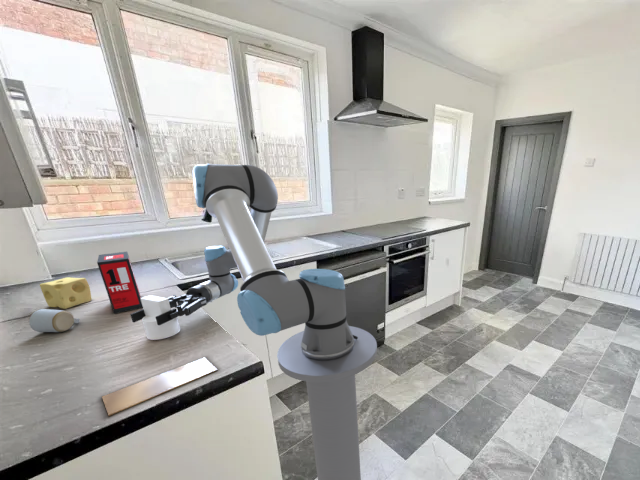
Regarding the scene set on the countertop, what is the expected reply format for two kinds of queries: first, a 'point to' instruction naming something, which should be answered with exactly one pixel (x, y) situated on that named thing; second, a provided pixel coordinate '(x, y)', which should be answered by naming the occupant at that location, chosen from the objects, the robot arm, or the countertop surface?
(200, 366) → the tan rectangular plate
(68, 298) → the cheese
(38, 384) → the countertop surface
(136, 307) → the cleaning product box
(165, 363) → the countertop surface
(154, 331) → the cylinder with rectangular tab
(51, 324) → the ceramic mug
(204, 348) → the countertop surface
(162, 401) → the countertop surface
